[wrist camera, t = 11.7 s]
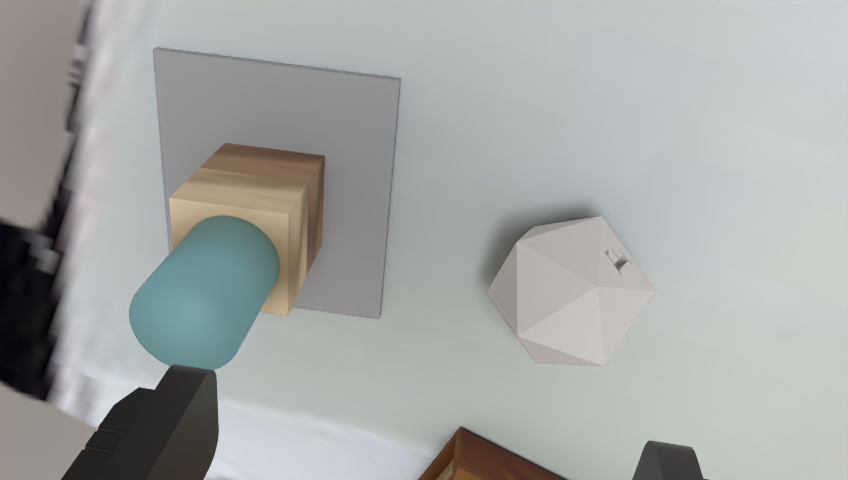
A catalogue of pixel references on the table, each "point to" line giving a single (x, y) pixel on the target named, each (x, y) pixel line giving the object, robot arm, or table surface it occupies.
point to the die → (570, 292)
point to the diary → (480, 462)
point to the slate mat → (299, 132)
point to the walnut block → (284, 168)
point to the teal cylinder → (206, 293)
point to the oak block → (251, 220)
